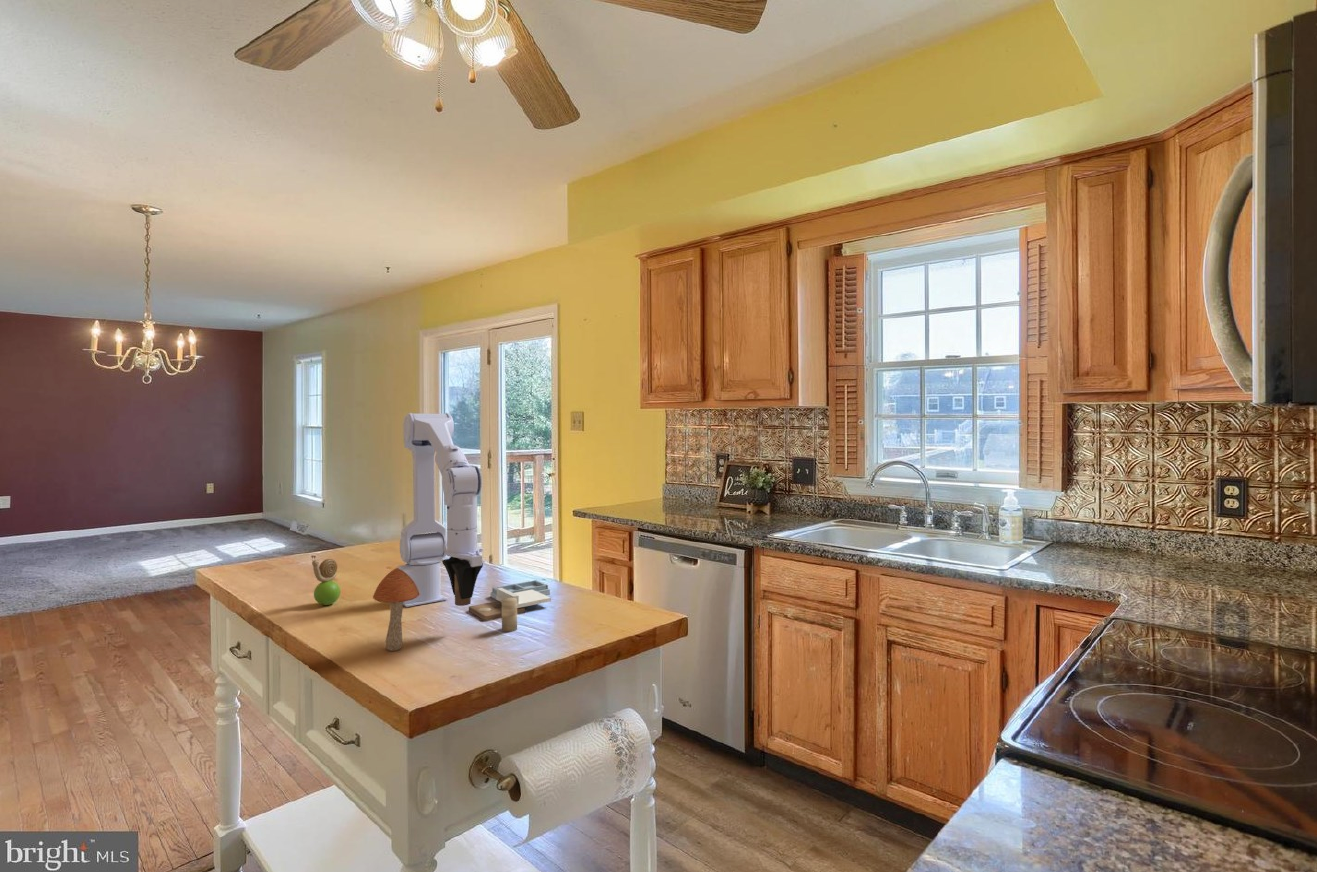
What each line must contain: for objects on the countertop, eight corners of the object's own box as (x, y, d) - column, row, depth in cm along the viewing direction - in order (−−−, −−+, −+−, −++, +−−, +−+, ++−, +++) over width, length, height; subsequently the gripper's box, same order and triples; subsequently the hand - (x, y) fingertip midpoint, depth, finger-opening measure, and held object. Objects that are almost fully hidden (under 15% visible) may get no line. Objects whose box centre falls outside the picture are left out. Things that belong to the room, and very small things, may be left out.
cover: (514, 608, 139) (514, 596, 139) (496, 599, 146) (496, 588, 146) (551, 601, 145) (550, 589, 145) (532, 592, 152) (531, 581, 152)
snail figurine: (304, 607, 145) (303, 554, 144) (328, 600, 151) (327, 549, 150) (322, 610, 143) (321, 556, 142) (346, 602, 149) (345, 550, 148)
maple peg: (505, 632, 128) (505, 602, 127) (499, 628, 130) (499, 599, 130) (519, 629, 129) (519, 600, 129) (513, 625, 132) (512, 596, 132)
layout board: (485, 620, 135) (485, 615, 135) (468, 610, 142) (468, 606, 142) (524, 612, 141) (524, 607, 141) (506, 603, 148) (506, 598, 148)
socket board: (503, 603, 148) (503, 593, 148) (490, 596, 153) (490, 587, 153) (549, 594, 155) (549, 585, 155) (535, 588, 161) (535, 579, 161)
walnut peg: (459, 606, 126) (458, 576, 125) (452, 603, 128) (451, 573, 128) (473, 603, 128) (472, 573, 127) (466, 600, 130) (466, 570, 130)
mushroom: (429, 643, 121) (428, 564, 121) (399, 658, 114) (398, 574, 113) (395, 639, 124) (394, 561, 124) (363, 653, 116) (362, 571, 116)
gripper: (497, 530, 124) (497, 600, 125) (467, 520, 135) (467, 584, 136) (461, 534, 120) (462, 607, 120) (433, 524, 131) (434, 590, 131)
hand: (462, 595), depth 128 cm, fingers closed on walnut peg, 3 cm apart
